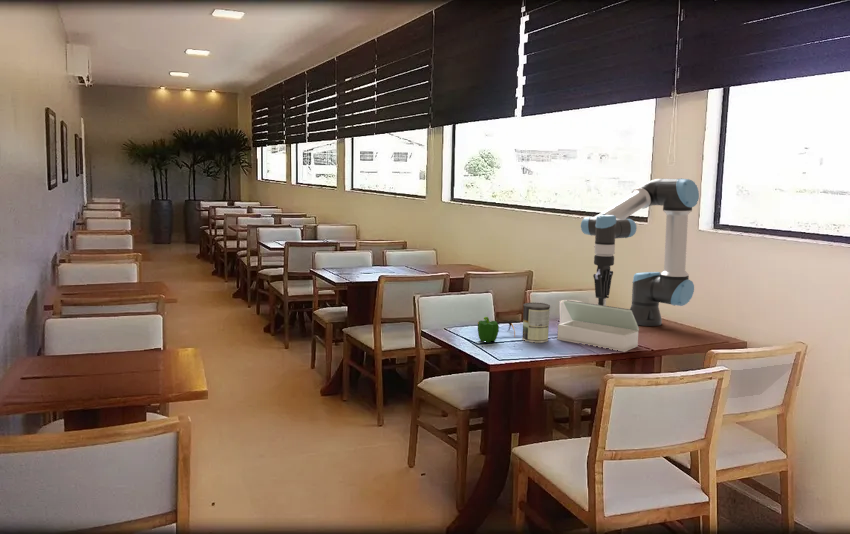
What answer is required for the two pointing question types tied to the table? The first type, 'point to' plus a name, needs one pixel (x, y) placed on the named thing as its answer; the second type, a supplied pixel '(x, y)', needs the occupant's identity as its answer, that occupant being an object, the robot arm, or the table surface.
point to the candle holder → (565, 312)
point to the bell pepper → (488, 330)
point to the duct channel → (598, 335)
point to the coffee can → (536, 322)
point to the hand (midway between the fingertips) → (601, 314)
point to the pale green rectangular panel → (601, 315)
